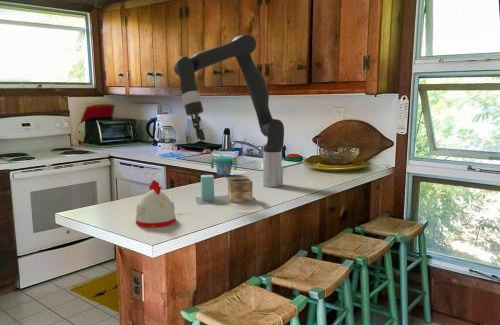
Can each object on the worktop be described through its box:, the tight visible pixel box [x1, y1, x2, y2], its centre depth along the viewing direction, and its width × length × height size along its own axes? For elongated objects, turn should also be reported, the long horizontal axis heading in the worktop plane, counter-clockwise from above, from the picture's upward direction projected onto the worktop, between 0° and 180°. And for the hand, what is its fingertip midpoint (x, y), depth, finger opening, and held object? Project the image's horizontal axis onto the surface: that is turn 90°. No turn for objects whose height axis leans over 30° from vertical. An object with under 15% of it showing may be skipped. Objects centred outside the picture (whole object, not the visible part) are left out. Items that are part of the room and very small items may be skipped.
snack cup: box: [210, 155, 238, 177], centre depth 248 cm, size 16×10×10 cm
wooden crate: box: [227, 177, 254, 203], centre depth 184 cm, size 9×9×8 cm
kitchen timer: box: [135, 179, 177, 229], centre depth 154 cm, size 14×14×15 cm
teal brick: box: [200, 174, 215, 201], centre depth 185 cm, size 5×5×10 cm
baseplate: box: [194, 195, 256, 206], centre depth 185 cm, size 24×14×1 cm, turn 101°
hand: (201, 139), depth 187 cm, fingers open, 8 cm apart
